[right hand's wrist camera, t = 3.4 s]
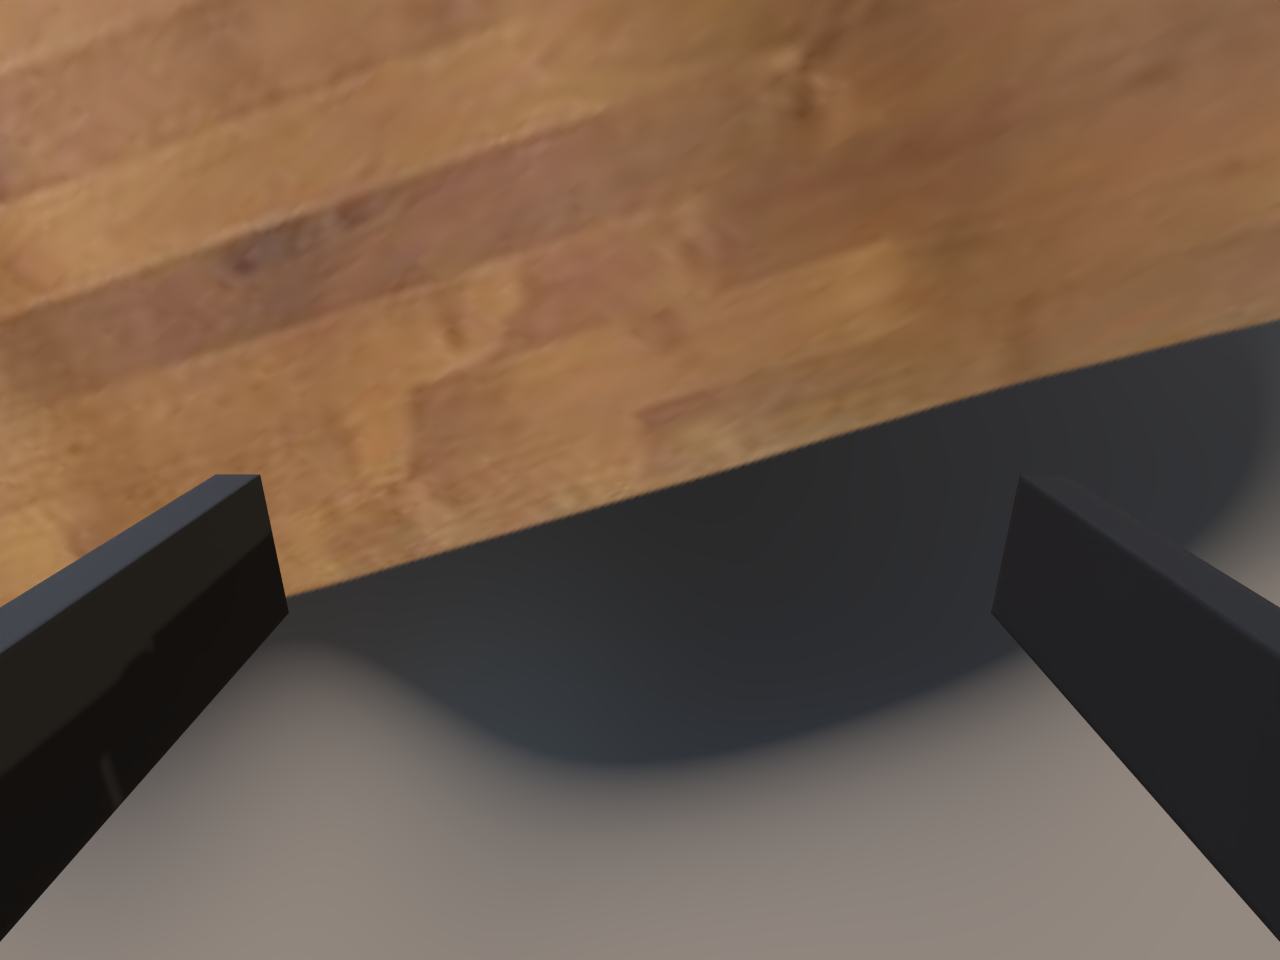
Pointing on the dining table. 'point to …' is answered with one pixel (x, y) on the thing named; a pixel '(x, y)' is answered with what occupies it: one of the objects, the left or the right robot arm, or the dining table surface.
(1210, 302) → the dining table surface
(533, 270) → the dining table surface
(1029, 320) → the dining table surface
